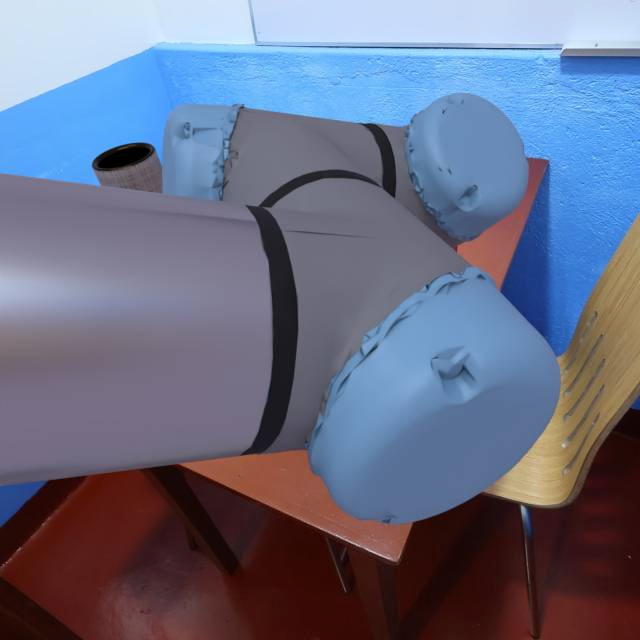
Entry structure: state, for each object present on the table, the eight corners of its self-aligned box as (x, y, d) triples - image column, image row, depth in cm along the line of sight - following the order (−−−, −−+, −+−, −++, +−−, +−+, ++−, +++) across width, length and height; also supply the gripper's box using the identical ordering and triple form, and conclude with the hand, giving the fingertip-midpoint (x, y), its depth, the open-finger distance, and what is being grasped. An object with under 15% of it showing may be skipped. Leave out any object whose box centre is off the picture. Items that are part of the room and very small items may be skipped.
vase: (157, 315, 87) (87, 175, 69) (157, 284, 95) (93, 150, 76) (209, 300, 88) (154, 159, 70) (205, 271, 96) (154, 136, 77)
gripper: (261, 373, 33) (210, 392, 52) (471, 220, 44) (365, 282, 63) (200, 285, 33) (171, 337, 52) (427, 152, 44) (334, 236, 63)
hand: (277, 307), depth 58 cm, fingers open, 13 cm apart
